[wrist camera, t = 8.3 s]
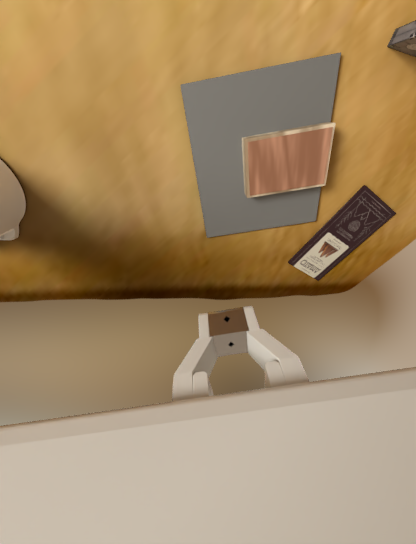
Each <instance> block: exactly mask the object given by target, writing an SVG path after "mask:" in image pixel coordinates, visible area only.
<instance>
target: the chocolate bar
mask: <svg viewBox="0 0 416 544" xmlns="http://www.w3.org/2000/svg"><path fill="white" fill-rule="evenodd" d="M395 214H396V213H395V212H394V211H393V210H392V209H391V208H390V207H389V206H387V205H386V204H385V203H384V202H383V201H382V200H381V199H380V198H379V197H378V196H376V195H375V194H374V193H373V192H372V191H371V190H370V189H369V188H368V187H367V186H365V185H364V186H363V187H362V188H361V189H360V190H359V191H358V192H357V193H356V194H355V195H354V196H353V197H352V198H351V199H350V200H349V201H348V202H347V203H346V204H345V205H344V206H343V207H342V208H341V209H340V210H339V211H338V212H337V213H336V214H335V215H334V216H333V217H332V218H331V219H330V220H329V221H328V222H327V223H326V224H325V225H324V226H323V227H322V228H321V229H320V230H319V231H318V232H317V233H316V234H315V235H314V236H313V237H312V238H311V239H310V240H309V241H308V242H307V243H306V244H305V245H304V246H303V247H302V248H301V249H300V250H299V251H298V252H297V253H296V254H295V255H294V256H293V257H292V258H291V259H290V260H289V261H288V263H289V264H291V265H293V266H294V267H296V268H298V269H299V270H301V271H303V272H304V273H306V274H308V275H310V276H311V277H313V278H315V279H316V280H320V279H321V278H322V277H323V276H324V275H325V274H327V273H328V272H329V271H330V270H331V269H332V268H334V267H335V266H336V265H337V264H338V263H339V262H340V261H342V260H343V259H344V258H345V257H346V256H347V255H349V254H350V253H351V252H352V251H353V250H354V249H356V248H357V247H358V246H359V245H360V244H361V243H362V242H364V241H365V240H366V239H367V238H368V237H369V236H371V235H372V234H373V233H374V232H375V231H376V230H377V229H379V228H380V227H381V226H382V225H383V224H384V223H386V222H387V221H388V220H389V219H390V218H391V217H393V216H394V215H395Z"/></svg>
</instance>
